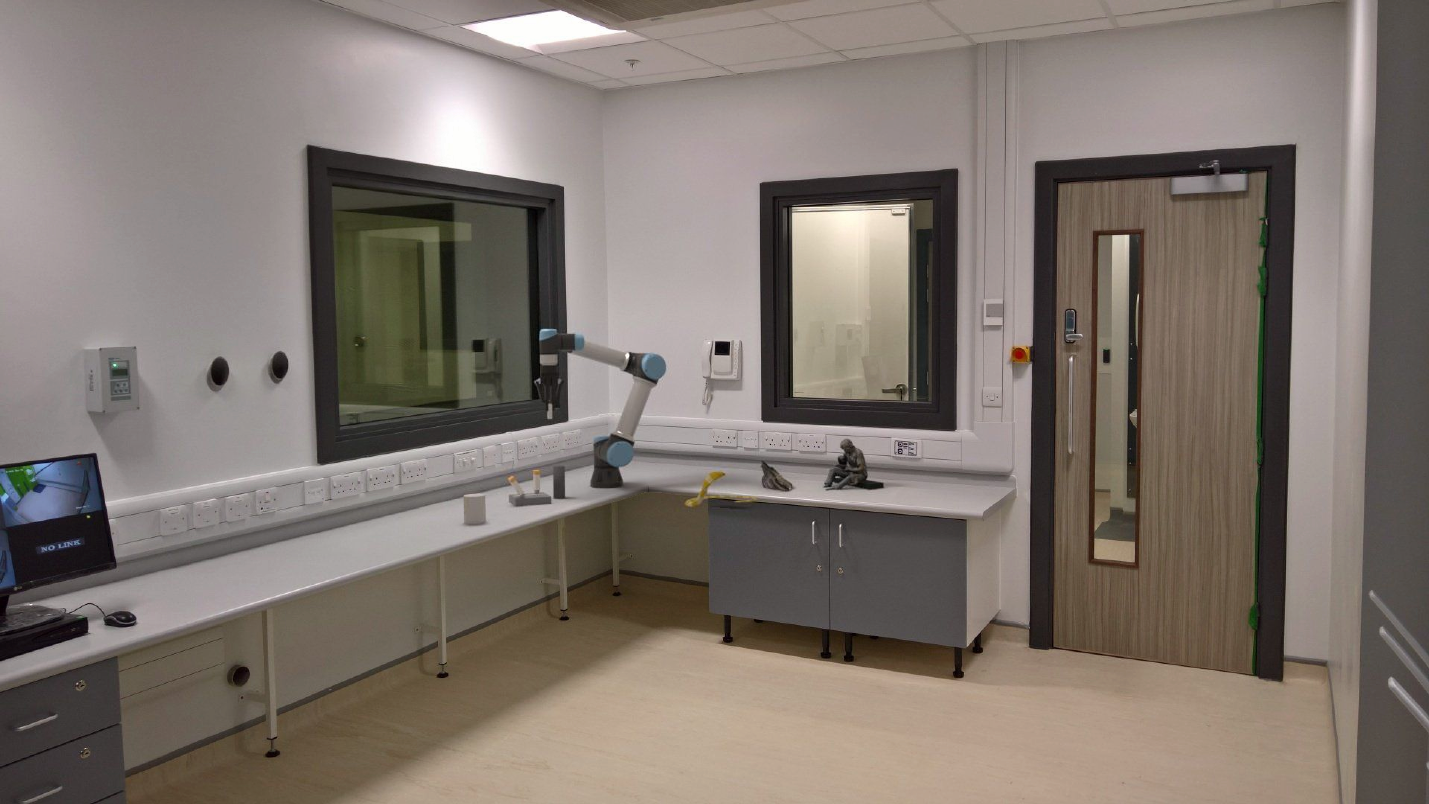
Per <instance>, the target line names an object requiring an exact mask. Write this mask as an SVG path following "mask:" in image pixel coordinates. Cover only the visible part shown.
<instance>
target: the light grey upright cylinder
mask: <svg viewBox="0 0 1429 804" xmlns="http://www.w3.org/2000/svg"><path fill="white" fill-rule="evenodd" d="M486 512H487V511H486V494H484V493H469V494H464V495H463V522H464V524H466V525H479V524H484V523H486V522H487V517H486V516H487V515H486ZM485 521H486V522H485Z"/></svg>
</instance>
